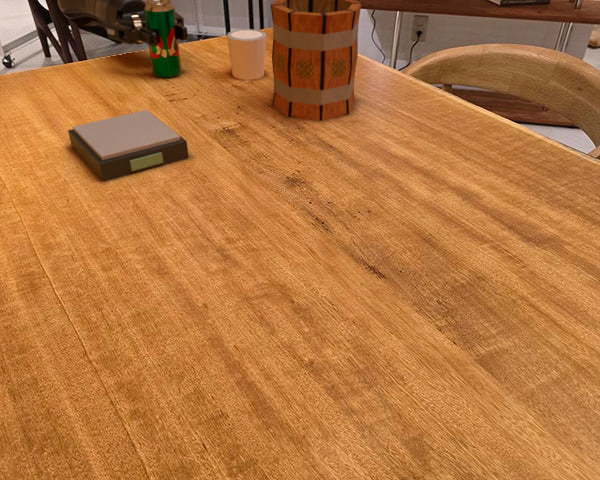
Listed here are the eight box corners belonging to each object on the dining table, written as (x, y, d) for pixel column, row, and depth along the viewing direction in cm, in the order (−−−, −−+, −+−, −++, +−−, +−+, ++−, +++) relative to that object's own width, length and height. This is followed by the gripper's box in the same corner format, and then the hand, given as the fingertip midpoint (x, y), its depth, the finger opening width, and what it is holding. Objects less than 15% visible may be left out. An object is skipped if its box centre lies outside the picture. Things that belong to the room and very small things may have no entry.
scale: (104, 183, 75) (99, 160, 73) (72, 148, 82) (66, 126, 80) (189, 159, 80) (187, 137, 78) (152, 128, 88) (148, 107, 86)
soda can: (179, 68, 108) (171, -4, 100) (184, 78, 104) (176, 4, 97) (151, 71, 107) (140, -2, 99) (155, 80, 103) (144, 6, 95)
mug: (364, 119, 91) (372, 14, 82) (277, 123, 90) (276, 17, 80) (338, 76, 106) (344, -17, 97) (264, 78, 105) (261, -15, 95)
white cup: (233, 67, 109) (231, 27, 104) (270, 69, 108) (269, 29, 104) (225, 80, 104) (222, 38, 99) (263, 82, 103) (262, 40, 99)
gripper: (82, -1, 103) (128, 20, 94) (154, -12, 111) (204, 6, 101) (91, 43, 108) (135, 68, 98) (160, 30, 115) (208, 52, 106)
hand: (170, 36), depth 100 cm, fingers closed on soda can, 5 cm apart
